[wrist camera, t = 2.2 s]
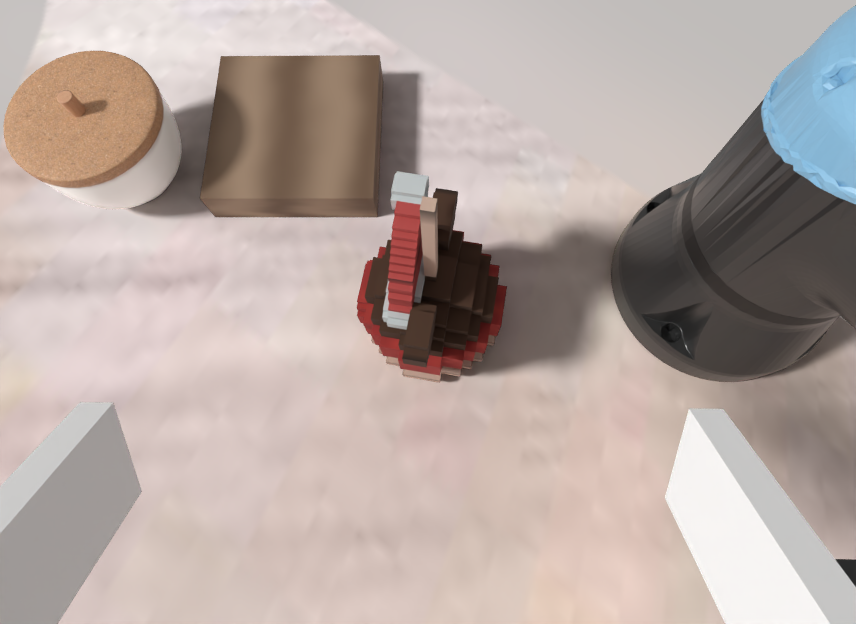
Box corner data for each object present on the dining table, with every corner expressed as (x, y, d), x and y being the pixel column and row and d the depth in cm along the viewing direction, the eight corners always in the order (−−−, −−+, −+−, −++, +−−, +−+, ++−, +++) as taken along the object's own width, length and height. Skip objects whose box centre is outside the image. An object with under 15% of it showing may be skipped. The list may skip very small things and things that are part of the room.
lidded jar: (47, 175, 46) (-49, 100, 37) (149, 95, 48) (82, 6, 39) (126, 257, 43) (44, 198, 34) (229, 168, 46) (178, 91, 37)
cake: (484, 401, 40) (518, 338, 22) (357, 378, 40) (295, 300, 23) (505, 264, 43) (549, 116, 25) (386, 245, 43) (351, 88, 26)
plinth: (383, 81, 48) (379, 55, 45) (377, 217, 44) (373, 198, 41) (234, 81, 48) (220, 56, 45) (215, 216, 44) (199, 198, 41)
